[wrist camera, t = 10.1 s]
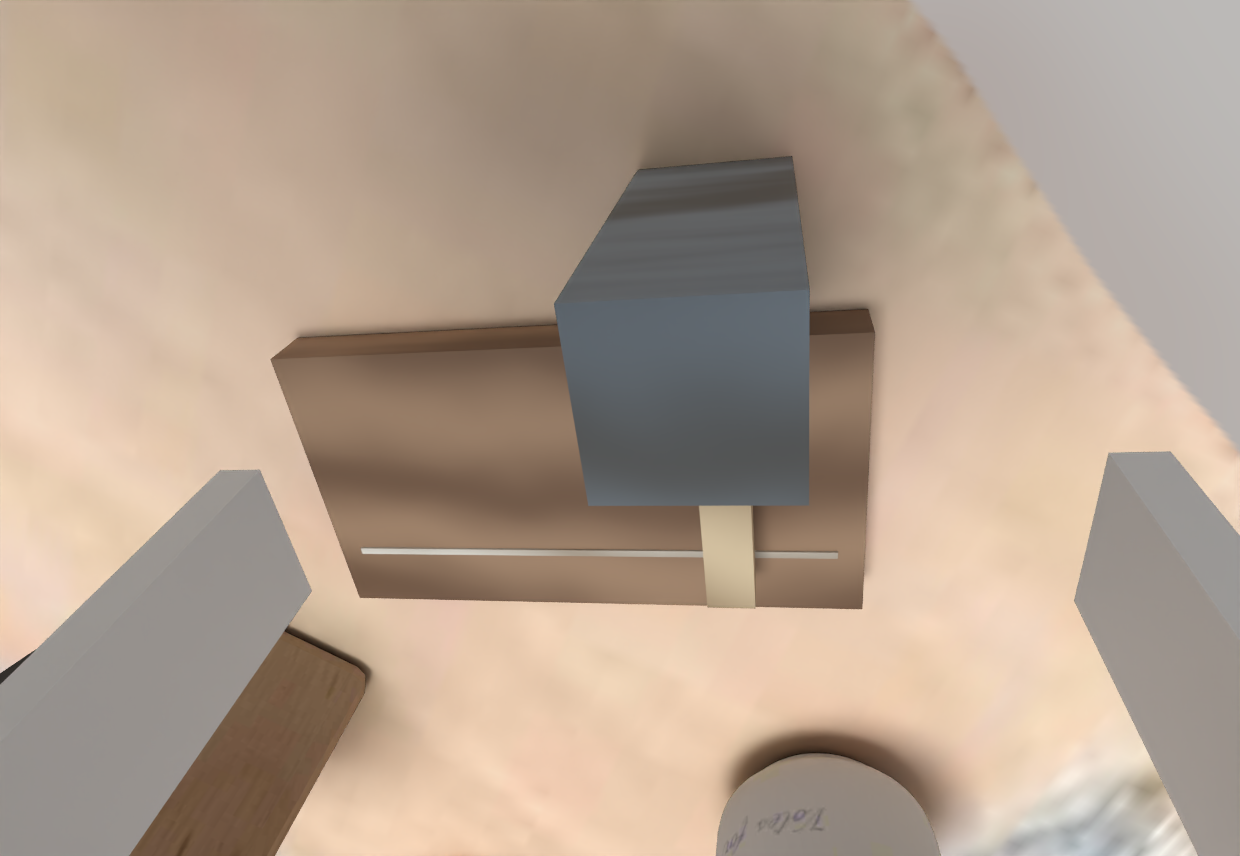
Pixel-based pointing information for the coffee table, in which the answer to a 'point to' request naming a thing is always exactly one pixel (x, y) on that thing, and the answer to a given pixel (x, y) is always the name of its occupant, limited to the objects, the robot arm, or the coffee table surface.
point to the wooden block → (260, 758)
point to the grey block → (695, 355)
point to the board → (550, 475)
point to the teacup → (823, 812)
